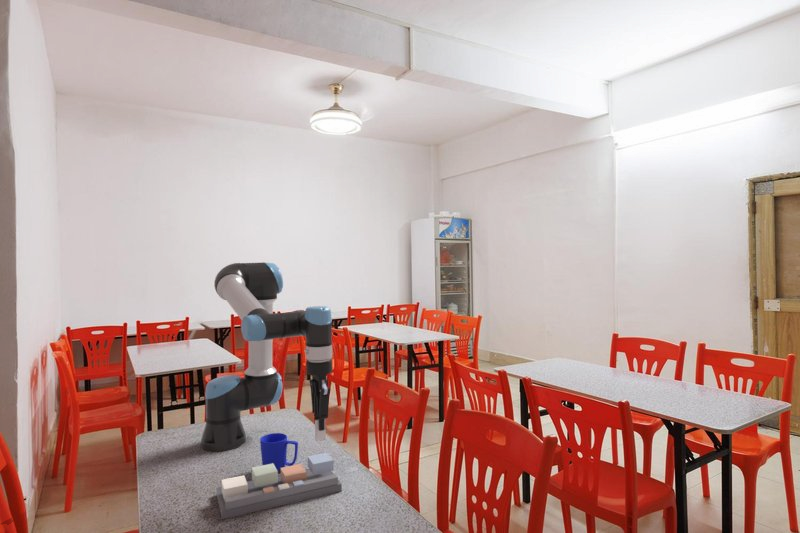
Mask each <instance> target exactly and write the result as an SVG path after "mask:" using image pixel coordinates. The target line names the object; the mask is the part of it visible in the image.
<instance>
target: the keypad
mask: <svg viewBox="0 0 800 533" xmlns="http://www.w3.org/2000/svg"><path fill="white" fill-rule="evenodd" d="M304 469H305V468H304ZM305 470H306V474H307V480H305V481H302V480H299V481H295V482H293V483H291V484H288V483H286V484H283V482H282V480H281V474H278V483H273V484H268V485H264V486H259V487H255V485H254V482H253V480H246V481H247V484H248V493H246V494H241V495H237V496H232V497H228V498H225V501H224V498H223V494H222V486H219V487H216V488H215V489H216V499H217V503H218V507H219V512H220V517H221V520H224V519H230V518H233V517H238V516H243V515H247V514H250V513H254V512H258V511H264V510H267V509H271V508H276V507H279V506H283V505H288V504H293V503H297V502H301V501H306V500H309V499H314V498H318V497H322V496H327V495H330V494H334V493H339V492H342V490H343V488H342V485H343V484H342V483H341V481H340V480H339V477H338V476H337V474H335V473H334V472H333V471H329V472H324V473H319V474H315V475H313V473H312V472H311V471H310V469H309V468H306V469H305Z"/></svg>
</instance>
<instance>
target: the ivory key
mask: <svg viewBox="0 0 800 533" xmlns="http://www.w3.org/2000/svg"><path fill="white" fill-rule="evenodd" d="M247 481H248V480H247V479H246V476H245V475H239V476H234V477H229V478H224V479H221V487H222V494H223V498H224V501H225V498H228V497H232V496H237V495H241V494H246V493H248V484H247Z"/></svg>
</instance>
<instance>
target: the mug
mask: <svg viewBox="0 0 800 533" xmlns="http://www.w3.org/2000/svg"><path fill="white" fill-rule="evenodd" d="M259 442H260V453H261V466H262V465H267V464H272V463H273V464H274V465H275V467H276V469H277V471H278V473H280V472H281V470H280V468H283V467H287V466H292V465H295V463H296V461H297V458H298V451H299V442H298V441H295V440H288V436H287V434H285V433H281V432H273V433H269V434H265V435H263V436H261V437H260V440H259ZM290 444H291V445H294V456H293V460H292V462H288V461H287V453H288V451H287V449H288V445H290Z"/></svg>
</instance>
